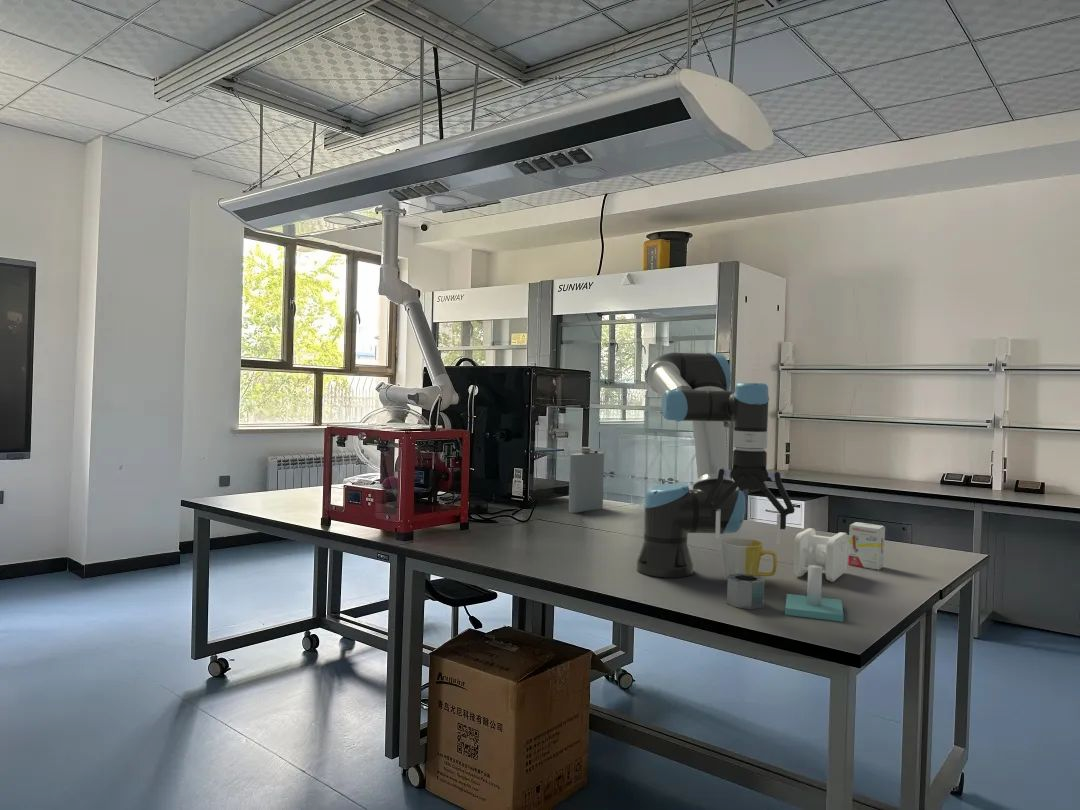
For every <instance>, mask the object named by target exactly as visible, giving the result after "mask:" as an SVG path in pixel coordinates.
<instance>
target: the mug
mask: <svg viewBox="0 0 1080 810" xmlns="http://www.w3.org/2000/svg"><path fill="white" fill-rule="evenodd" d="M763 546H764V544H763V542H762V541H760V540H757V539H754V538H749V537H748V538H747V537H729V538H728V537H726V538H724V539H722V540H721V547H722V549H721V550H722V555H723V556H722V557H723V563H724V570H725V571H724V572H725V576H726V578H727V579H728V576H729V574H738V573H743V574H752V575H757V576H759V577H771V576H774V575H776V573H777V572H776V571H777V566H778V565H777V564H778V560H777V559H778V557H777V556H778V555H777V552H776V551H773V550H763ZM765 555H772V558H773V568H772V571H771V572H763V571H762V572H760V571H759V568H760V563H761V557H762V556H765Z"/></svg>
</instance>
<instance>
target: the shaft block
mask: <svg viewBox="0 0 1080 810" xmlns="http://www.w3.org/2000/svg"><path fill="white" fill-rule="evenodd" d="M822 583H823V573H822V567H821V566H816V565H809V566H808V572H807V590H806V591H807V592H806V593H807V594H806V595H803V594H802V595H801V594H792V593H786V600H785V608H784V609H785V610H784V614H785V616H792V617H794V616H795V617H801V618H808V619H809V618H810V619H815V620H817V619H818V620H826V621H833V622H834V621H835V622H842V623H843V622H844V611H843V602H842V599H835V598H827V597H822V587H823V586H822V585H823V584H822Z"/></svg>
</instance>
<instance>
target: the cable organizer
mask: <svg viewBox="0 0 1080 810" xmlns="http://www.w3.org/2000/svg"><path fill="white" fill-rule="evenodd" d="M848 547H849V534H848V533H847V532H840V531H839V532H837V533H835V535H833V536H823V535H818V534H816V529H815V528H811V527H808V528H806V529H804V530H802V531H801V532H798V533H797V534H796V536H795V539H794V562H793V563H794V564H793V565H794V568H793V569H794V570H793V572H794V574H795V575H797V577H800V578H802V577H803V576H804V575H805V574H807V573H808V566H809V565H816V566H821V567H822V574H825V579H826V580H827V581H829V582H830V583H834V582H835V581H836V580H837V579H838V578H840V577H841V576H842V575H844V574H845V572H847V566H848Z"/></svg>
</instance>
